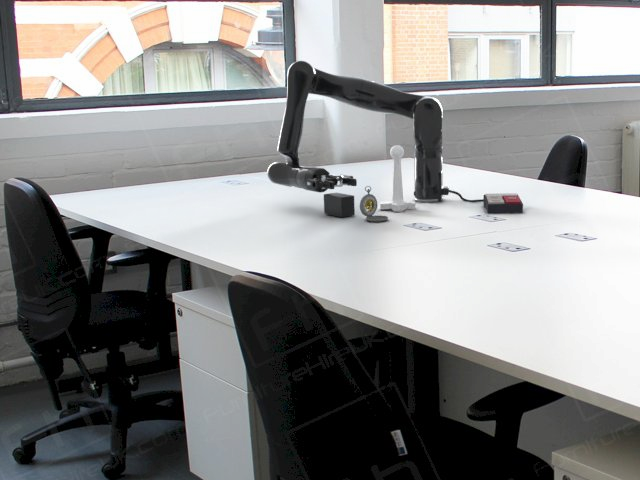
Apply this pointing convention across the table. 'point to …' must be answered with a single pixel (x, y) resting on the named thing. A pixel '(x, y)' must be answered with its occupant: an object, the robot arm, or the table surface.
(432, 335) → the table surface
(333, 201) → the dark grey rectangular block
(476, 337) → the table surface
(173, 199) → the table surface
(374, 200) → the pocket watch
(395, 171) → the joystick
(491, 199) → the control box
